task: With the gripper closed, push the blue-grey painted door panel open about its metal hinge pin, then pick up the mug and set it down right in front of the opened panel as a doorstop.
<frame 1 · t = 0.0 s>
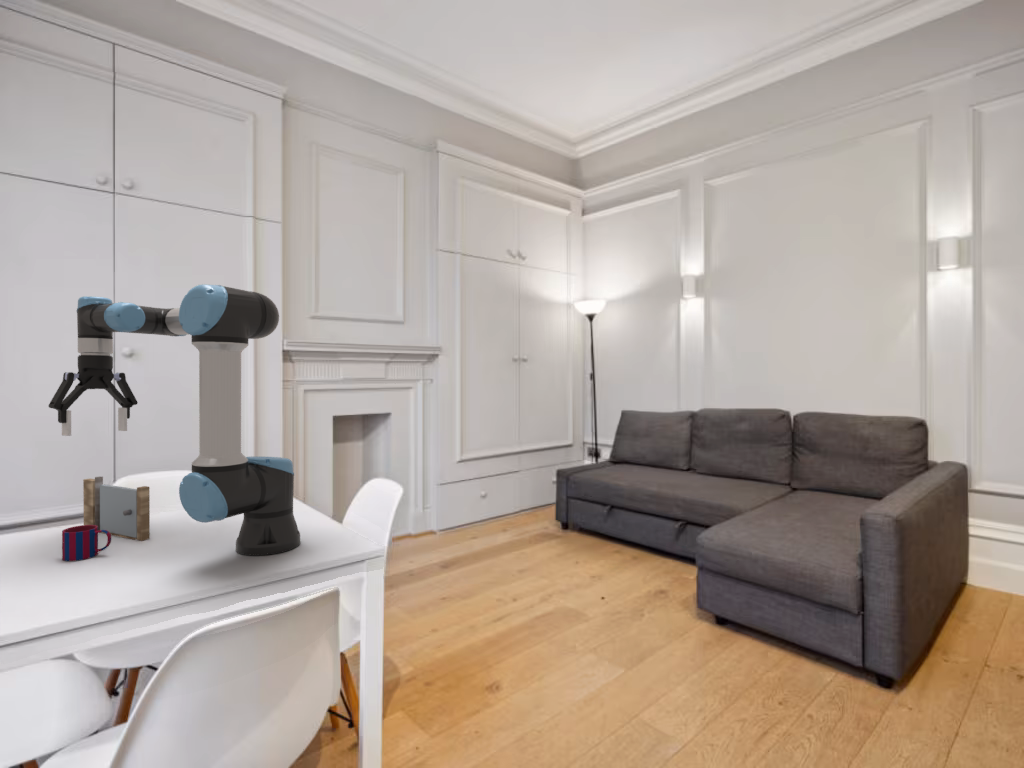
hand: (95, 433, 144), 28 cm above the table, fingers open, 13 cm apart
mug: (87, 557, 128), on the table
door: (117, 511, 145), point 7 cm above the table, hinge at 0.0°
doorframe: (99, 530, 150), on the table
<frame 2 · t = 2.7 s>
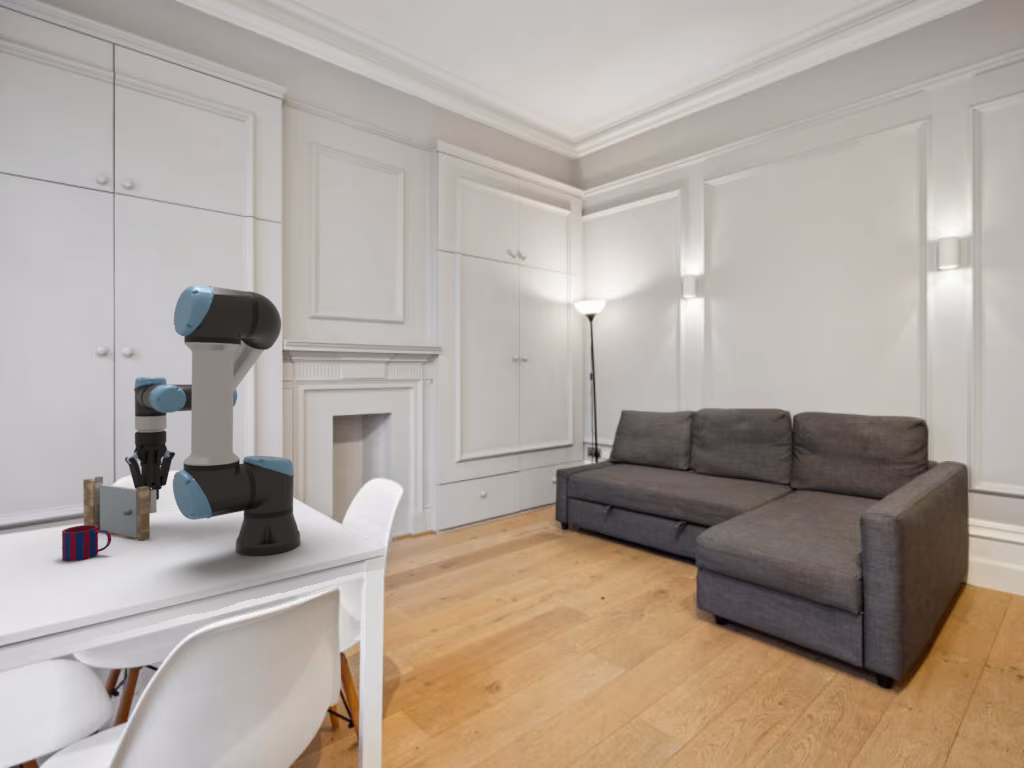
hand: (150, 512, 153), 4 cm above the table, fingers closed
nothing on the table moved.
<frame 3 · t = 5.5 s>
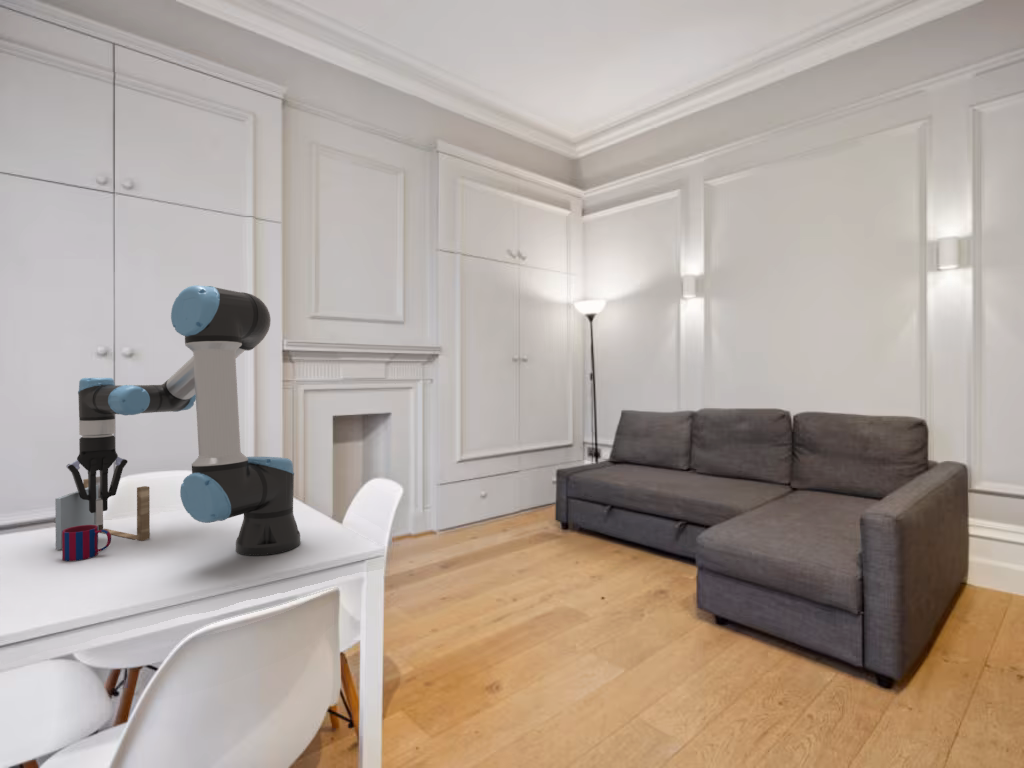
hand: (98, 523, 142), 4 cm above the table, fingers closed
door: (75, 515, 140), point 7 cm above the table, hinge at 55.9°, touching hand
everything else where it was.
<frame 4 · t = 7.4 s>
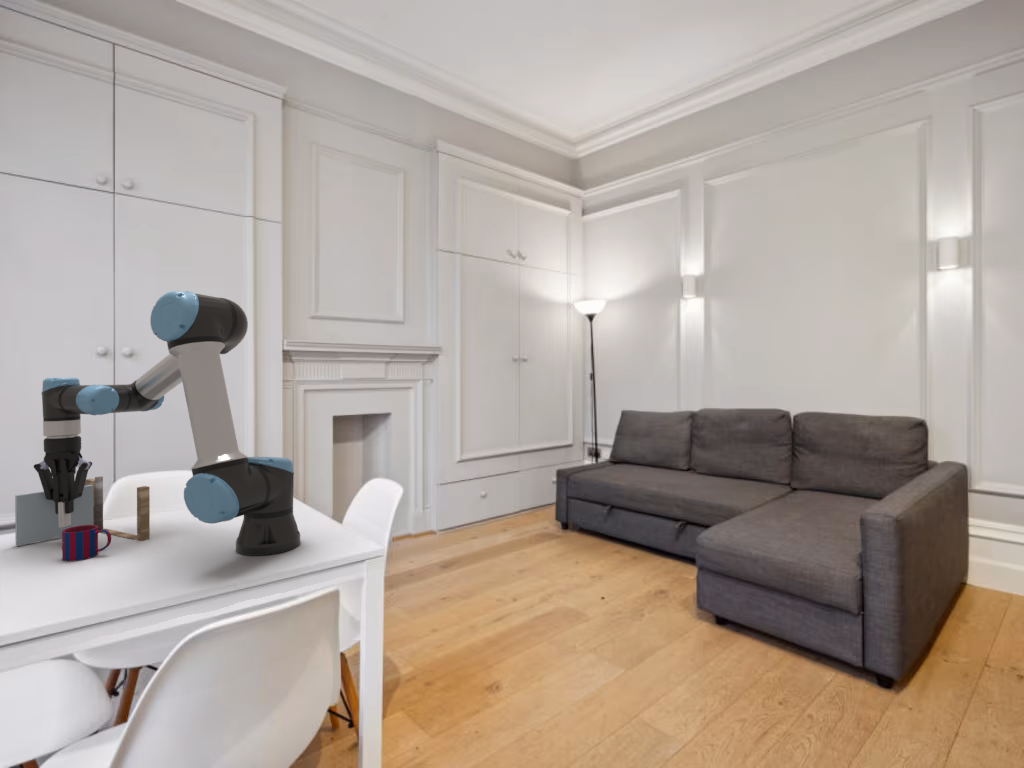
hand: (64, 525, 140), 4 cm above the table, fingers closed
door: (55, 513, 142), point 7 cm above the table, hinge at 100.5°, touching hand
everything else where it was.
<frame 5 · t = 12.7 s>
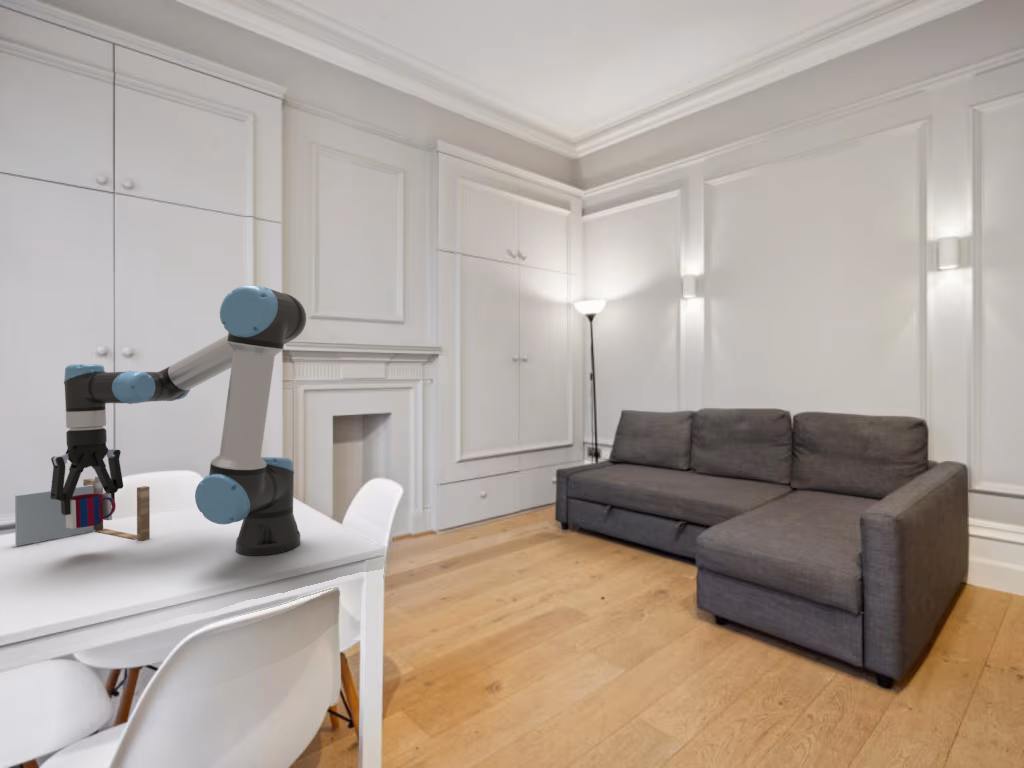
hand: (89, 523, 128), 8 cm above the table, fingers closed on mug, 7 cm apart
mug: (92, 525, 129), point 8 cm above the table, touching gripper
door: (55, 513, 142), point 7 cm above the table, hinge at 100.5°
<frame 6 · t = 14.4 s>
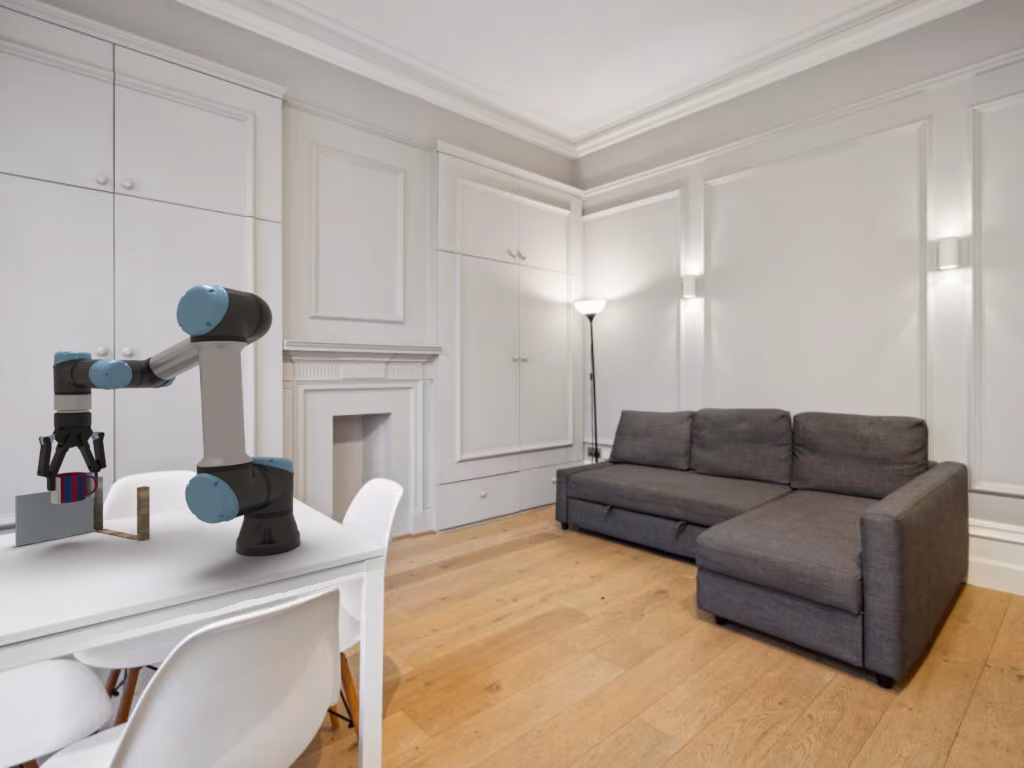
hand: (73, 499, 137), 11 cm above the table, fingers closed on mug, 7 cm apart
mug: (75, 501, 138), point 11 cm above the table, touching gripper
everything else where it was.
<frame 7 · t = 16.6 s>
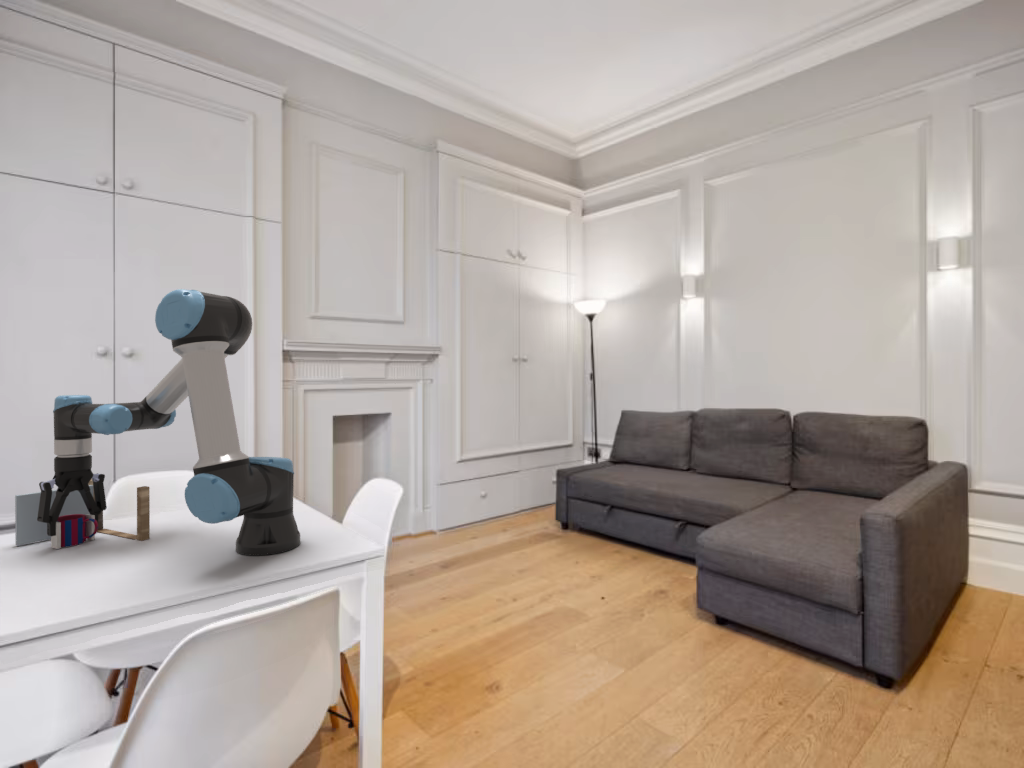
hand: (73, 543, 137), 0 cm above the table, fingers closed on mug, 7 cm apart
mug: (75, 544, 138), on the table, touching gripper
everything else where it was.
when the fingers open (0 cm above the table, at t = 16.9 s): mug stays where it is, on the table.
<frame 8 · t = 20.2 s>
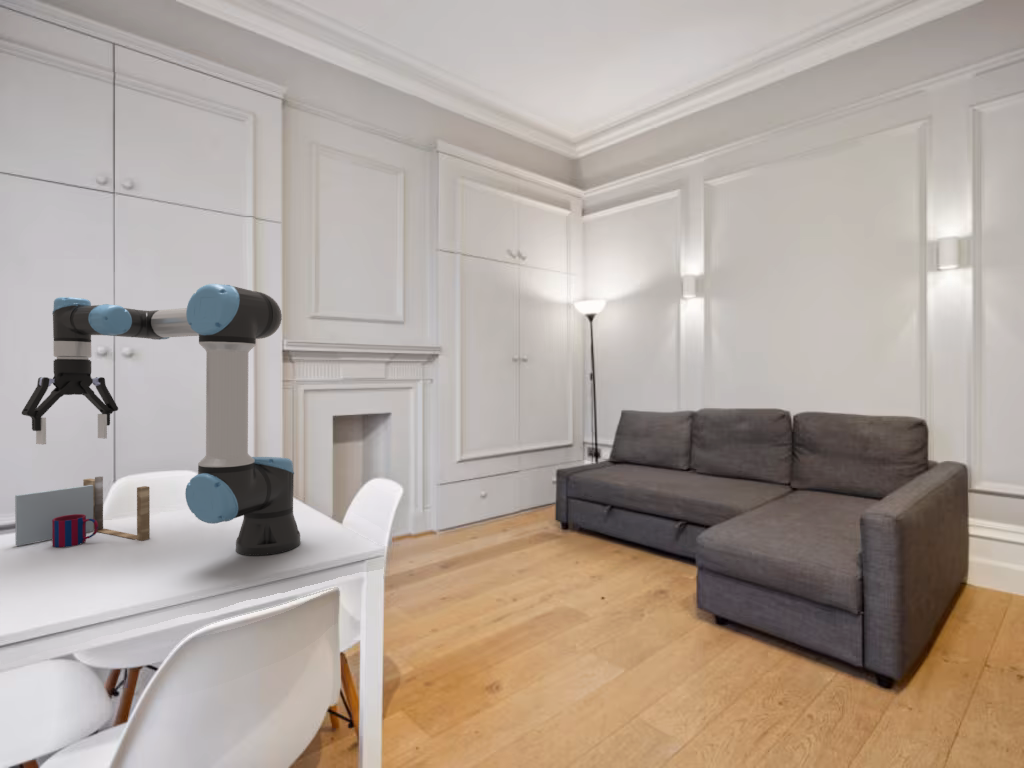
hand: (73, 441, 137), 27 cm above the table, fingers open, 13 cm apart
mug: (75, 544, 138), on the table
everything else where it was.
at the end: door at +100° (first picture: +0°); mug inside the target area (1.1 cm from its centre), on the table; mug tilted 0° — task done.
